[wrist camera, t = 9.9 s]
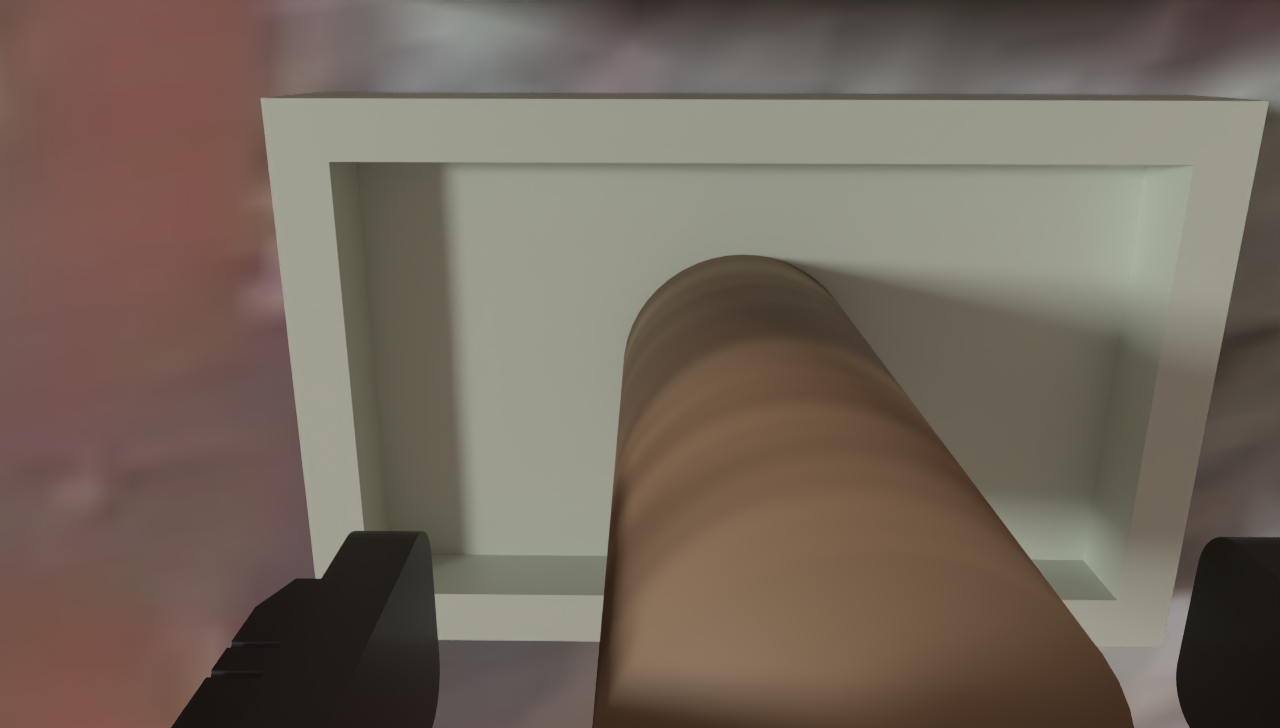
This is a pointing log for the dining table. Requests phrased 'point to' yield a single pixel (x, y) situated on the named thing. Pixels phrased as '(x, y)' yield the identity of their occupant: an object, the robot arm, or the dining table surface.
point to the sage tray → (770, 227)
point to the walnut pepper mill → (811, 537)
